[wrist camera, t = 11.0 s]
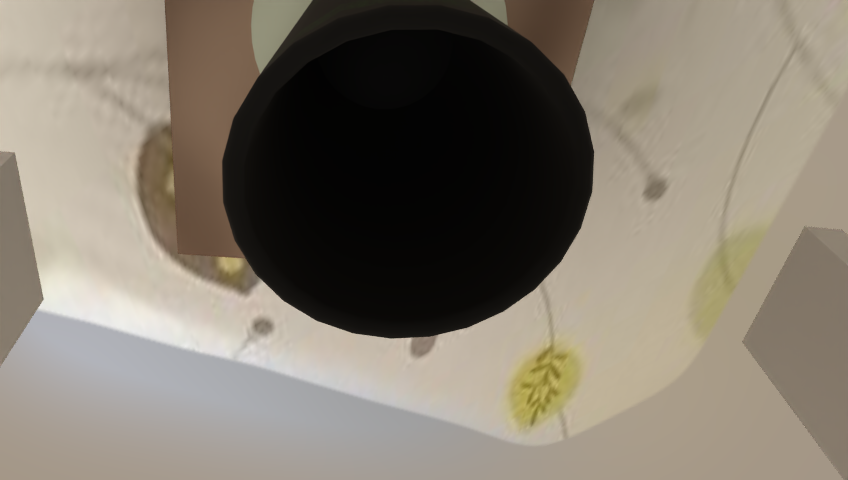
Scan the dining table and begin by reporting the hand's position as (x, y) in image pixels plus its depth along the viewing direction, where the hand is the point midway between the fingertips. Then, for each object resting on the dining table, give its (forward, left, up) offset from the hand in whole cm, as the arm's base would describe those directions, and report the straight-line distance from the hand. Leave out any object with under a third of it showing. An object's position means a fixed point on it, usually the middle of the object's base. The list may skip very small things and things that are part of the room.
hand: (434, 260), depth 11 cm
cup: (0, 0, -15) cm, 15 cm away
